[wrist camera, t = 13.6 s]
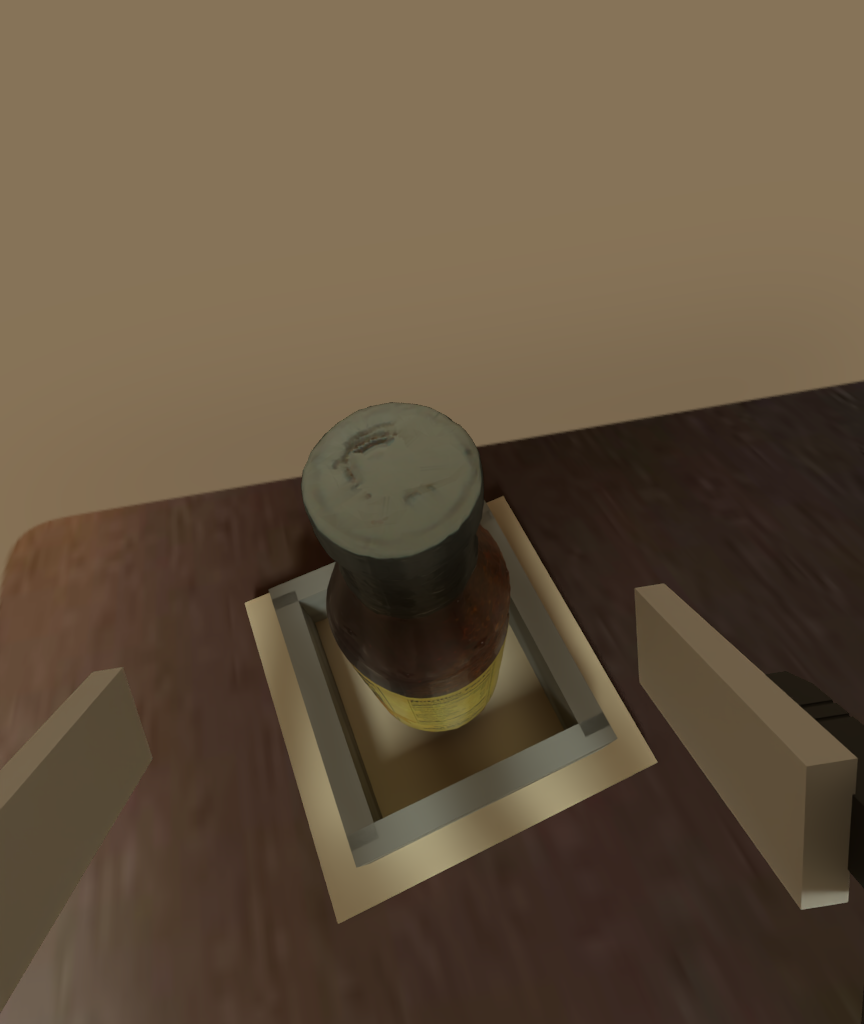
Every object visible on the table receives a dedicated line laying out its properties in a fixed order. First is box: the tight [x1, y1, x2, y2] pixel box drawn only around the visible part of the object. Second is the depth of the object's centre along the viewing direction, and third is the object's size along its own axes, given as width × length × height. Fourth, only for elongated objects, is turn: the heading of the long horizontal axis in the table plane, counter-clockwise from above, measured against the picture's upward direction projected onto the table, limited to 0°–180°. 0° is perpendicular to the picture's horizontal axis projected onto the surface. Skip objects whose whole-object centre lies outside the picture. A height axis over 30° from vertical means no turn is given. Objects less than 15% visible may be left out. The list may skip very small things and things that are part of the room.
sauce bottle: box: [301, 402, 511, 732], centre depth 22 cm, size 6×6×20 cm
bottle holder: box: [245, 496, 657, 924], centre depth 29 cm, size 16×16×5 cm
